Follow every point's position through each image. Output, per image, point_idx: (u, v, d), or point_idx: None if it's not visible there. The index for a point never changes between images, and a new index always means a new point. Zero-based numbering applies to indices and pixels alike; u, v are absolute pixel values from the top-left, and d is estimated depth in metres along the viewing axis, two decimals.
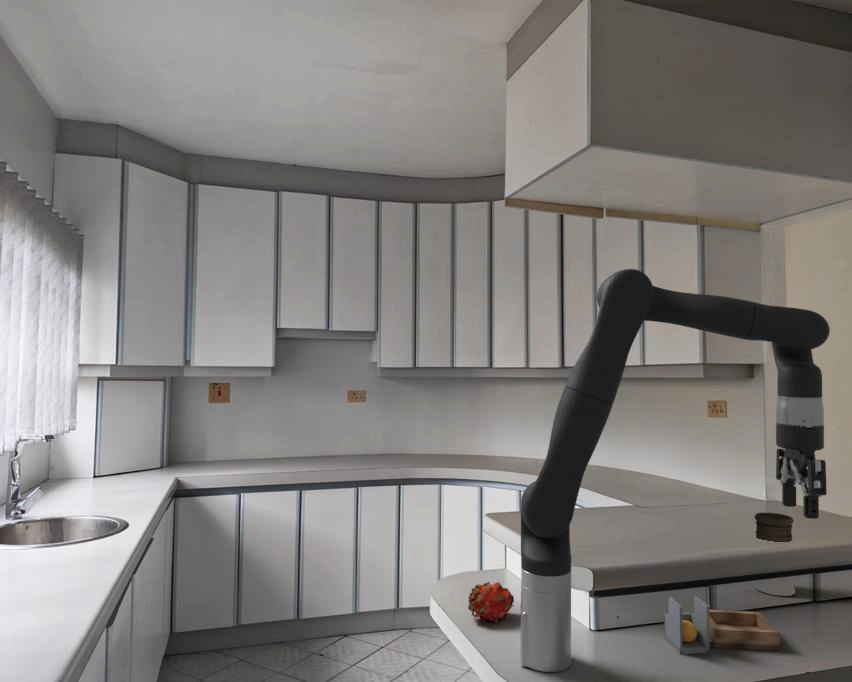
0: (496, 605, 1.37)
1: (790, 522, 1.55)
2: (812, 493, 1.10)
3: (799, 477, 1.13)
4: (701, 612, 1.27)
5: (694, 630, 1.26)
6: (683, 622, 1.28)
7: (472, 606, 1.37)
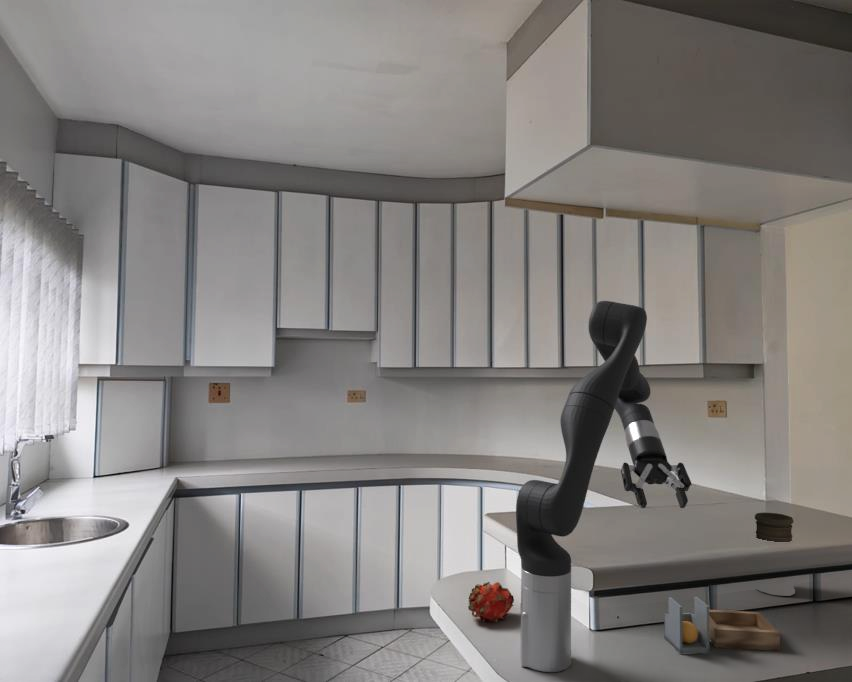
0: (496, 605, 1.37)
1: (790, 522, 1.55)
2: None
3: (673, 475, 1.43)
4: (701, 612, 1.27)
5: (695, 633, 1.26)
6: (685, 624, 1.27)
7: (472, 606, 1.37)
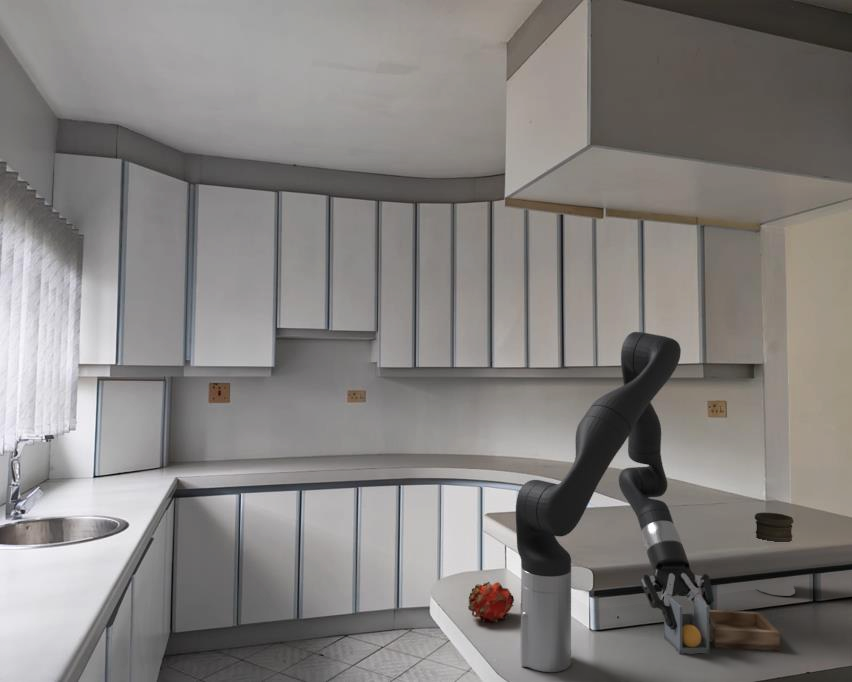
0: (496, 605, 1.37)
1: (790, 522, 1.55)
2: (713, 600, 1.29)
3: (696, 589, 1.30)
4: (701, 612, 1.27)
5: (698, 643, 1.24)
6: (690, 635, 1.24)
7: (472, 606, 1.37)
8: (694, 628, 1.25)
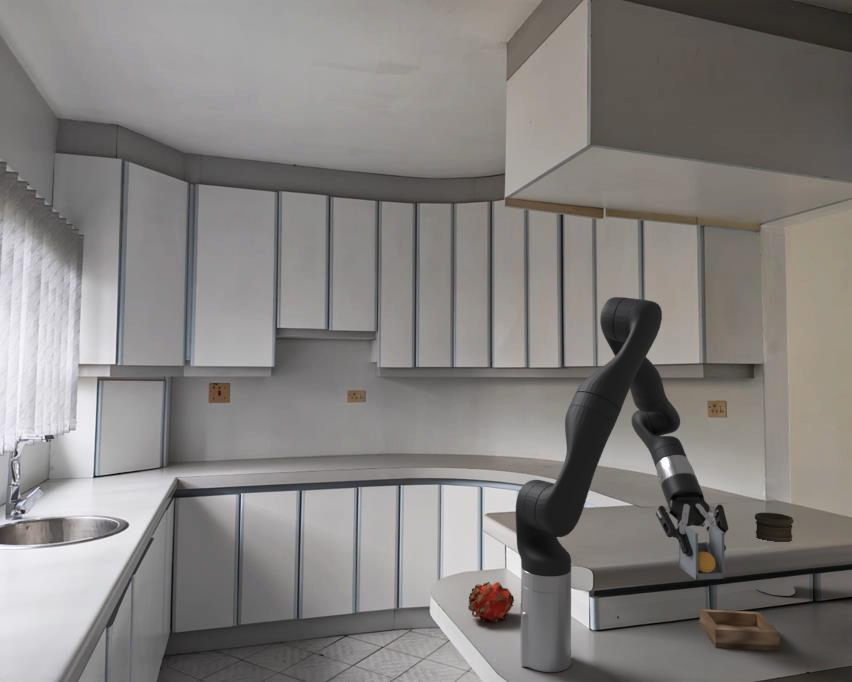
0: (496, 605, 1.37)
1: (790, 522, 1.55)
2: (727, 529, 1.31)
3: (711, 518, 1.32)
4: (716, 538, 1.28)
5: (713, 568, 1.26)
6: (704, 561, 1.26)
7: (472, 606, 1.37)
8: (707, 554, 1.27)
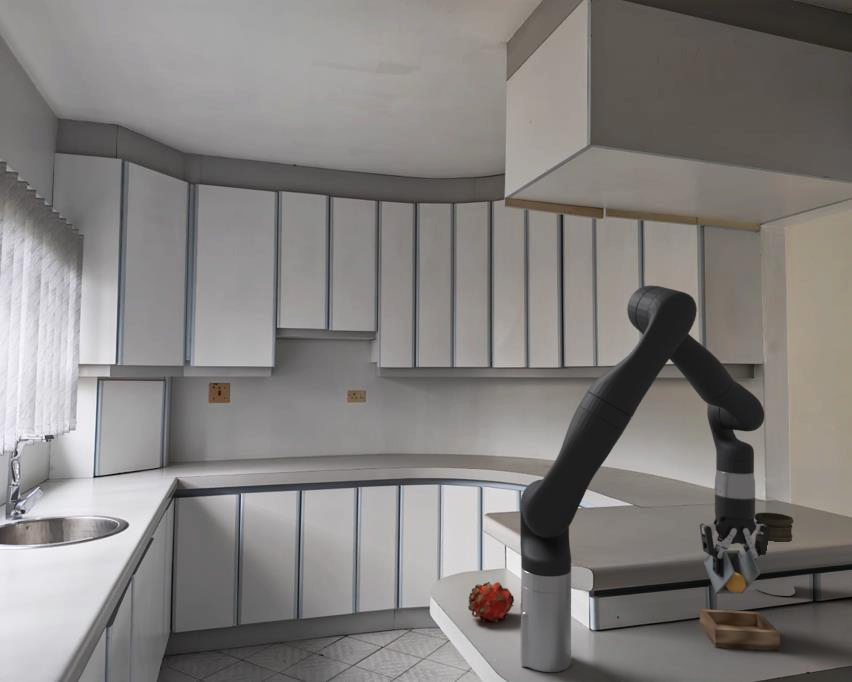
0: (496, 605, 1.37)
1: (790, 522, 1.55)
2: None
3: None
4: (750, 568, 1.31)
5: None
6: (737, 590, 1.31)
7: (472, 606, 1.37)
8: (744, 585, 1.31)
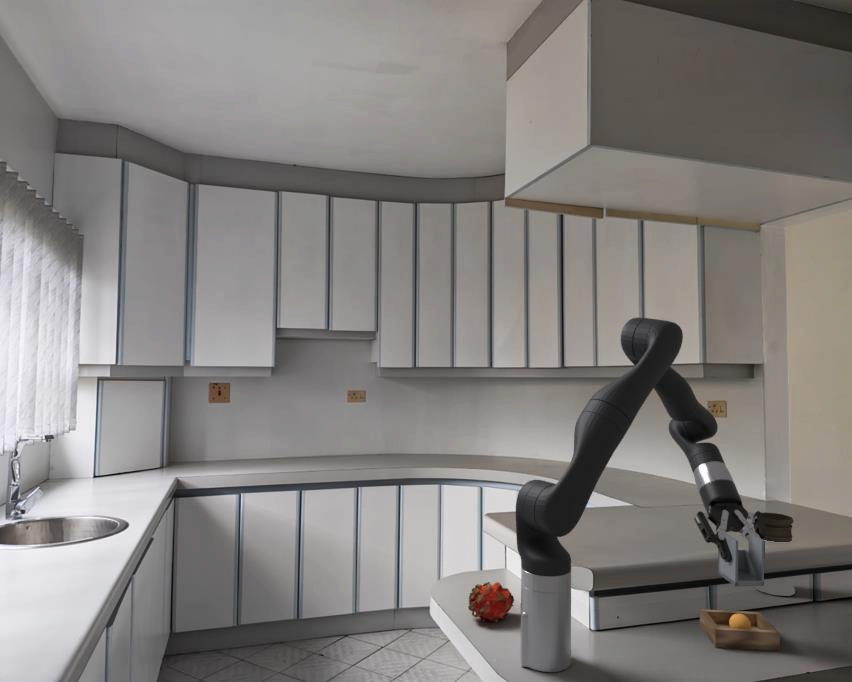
0: (496, 605, 1.37)
1: (790, 522, 1.55)
2: (766, 535, 1.33)
3: (749, 524, 1.34)
4: (756, 546, 1.30)
5: None
6: None
7: (472, 606, 1.37)
8: None
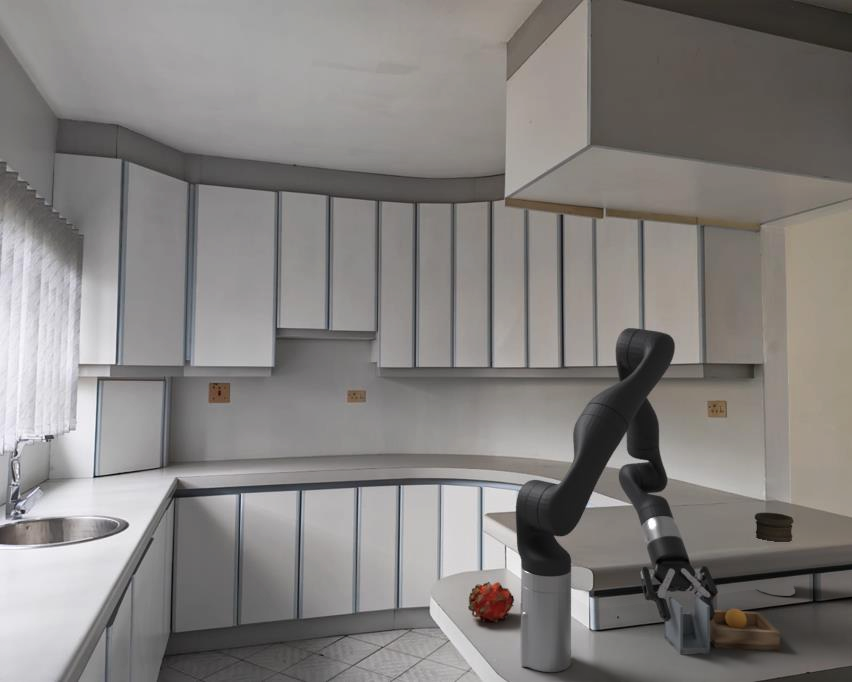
0: (496, 605, 1.37)
1: (790, 522, 1.55)
2: (717, 592, 1.30)
3: (698, 582, 1.31)
4: (702, 612, 1.27)
5: None
6: (735, 627, 1.32)
7: (472, 606, 1.37)
8: (743, 623, 1.32)
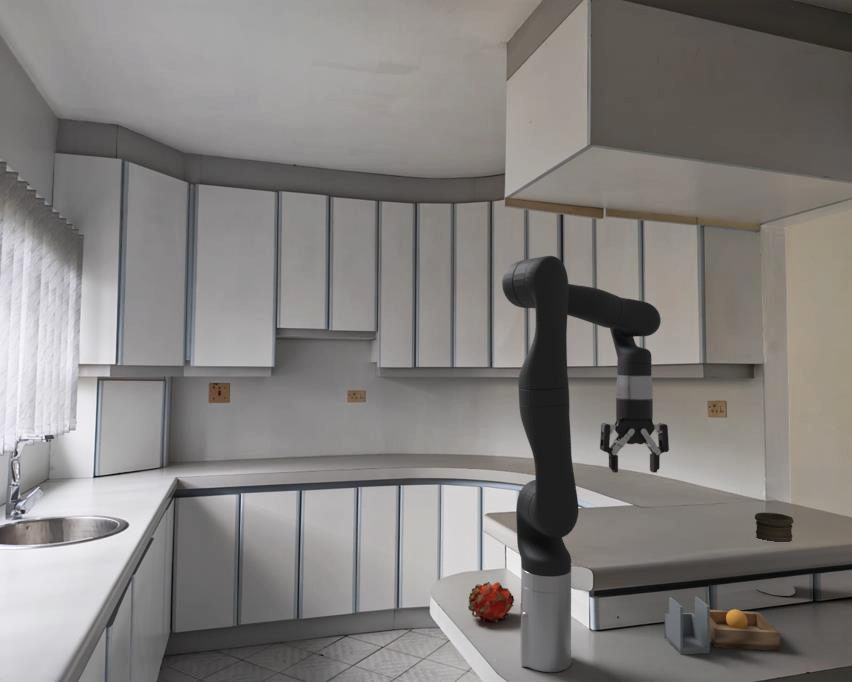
0: (496, 605, 1.37)
1: (790, 522, 1.55)
2: (668, 450, 1.39)
3: (653, 441, 1.38)
4: (702, 612, 1.27)
5: None
6: None
7: (472, 606, 1.37)
8: (743, 625, 1.31)
